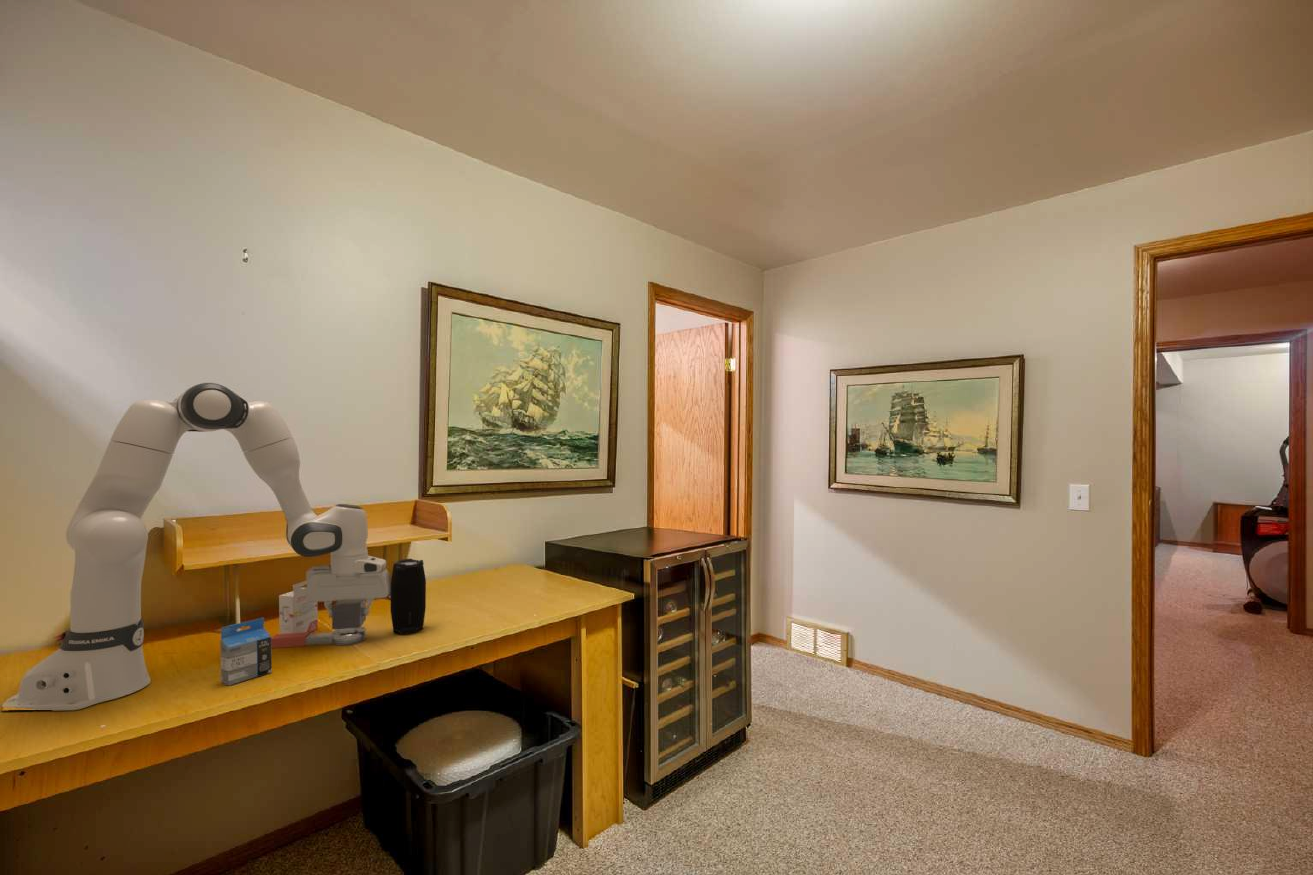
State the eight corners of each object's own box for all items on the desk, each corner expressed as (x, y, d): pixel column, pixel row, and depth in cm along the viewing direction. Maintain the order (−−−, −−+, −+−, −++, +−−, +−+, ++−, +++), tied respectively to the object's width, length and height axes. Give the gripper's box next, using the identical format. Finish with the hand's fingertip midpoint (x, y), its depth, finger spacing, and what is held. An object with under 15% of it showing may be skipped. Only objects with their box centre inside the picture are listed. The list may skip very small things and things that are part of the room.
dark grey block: (332, 629, 153) (332, 606, 153) (339, 621, 159) (339, 599, 159) (359, 627, 154) (359, 604, 154) (365, 619, 161) (365, 597, 161)
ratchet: (267, 651, 148) (267, 625, 148) (279, 640, 156) (279, 616, 156) (361, 644, 154) (361, 619, 154) (368, 634, 161) (369, 610, 161)
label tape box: (228, 686, 128) (228, 630, 128) (219, 682, 130) (220, 627, 130) (272, 673, 135) (272, 619, 135) (263, 669, 137) (263, 616, 137)
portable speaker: (396, 626, 169) (396, 558, 169) (429, 625, 170) (430, 557, 170) (385, 636, 160) (385, 564, 160) (420, 635, 161) (421, 564, 161)
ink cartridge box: (303, 628, 166) (303, 576, 166) (318, 629, 166) (318, 577, 165) (278, 638, 158) (278, 583, 158) (293, 639, 157) (293, 584, 157)
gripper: (302, 569, 151) (302, 622, 151) (387, 565, 156) (387, 616, 156) (310, 563, 157) (310, 615, 157) (392, 560, 162) (392, 609, 162)
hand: (349, 615), depth 157 cm, fingers closed on dark grey block, 7 cm apart
